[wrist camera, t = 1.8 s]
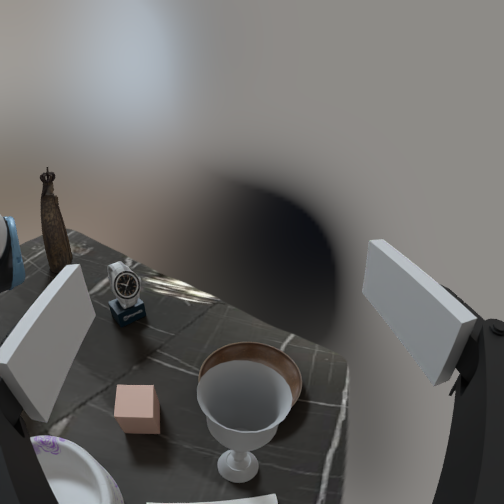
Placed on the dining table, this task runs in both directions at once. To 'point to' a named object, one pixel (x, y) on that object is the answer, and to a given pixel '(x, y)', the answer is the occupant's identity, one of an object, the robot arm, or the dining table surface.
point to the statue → (53, 227)
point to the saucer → (259, 355)
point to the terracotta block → (137, 409)
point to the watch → (125, 294)
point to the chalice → (242, 412)
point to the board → (241, 501)
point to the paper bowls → (74, 473)
